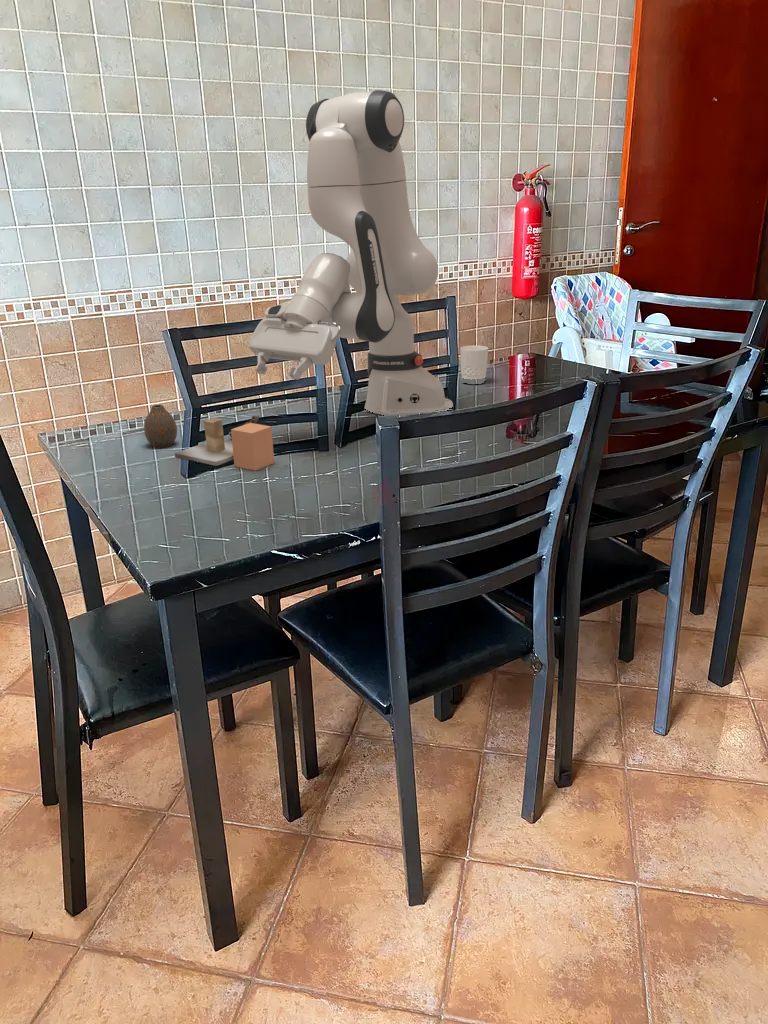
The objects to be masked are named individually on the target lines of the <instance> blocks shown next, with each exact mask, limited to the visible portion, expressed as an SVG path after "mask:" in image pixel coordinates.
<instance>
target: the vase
mask: <svg viewBox="0 0 768 1024" xmlns="http://www.w3.org/2000/svg"><path fill="white" fill-rule="evenodd" d="M143 430H144V431H143V432H144V436H145V439H146V441H147V442H148V443H149V444H150V445H151V446H153V447H154V448H165V447H167V448H168V447H170V446H172V445H173V444H174V442H175V441H176V439H177V435H178V427H177V423H176V421H175V418H174V416H173V415H172V414H171V413H170V412H169V411H168V410H167V409H166V408H165V406H164V405H163V404H154V405H152V406H151V407H150V411H149V412H148V414H147V416H146V417H145V420H144V423H143Z"/></svg>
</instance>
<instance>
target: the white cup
mask: <svg viewBox="0 0 768 1024" xmlns="http://www.w3.org/2000/svg"><path fill="white" fill-rule="evenodd" d="M459 349H460V351H459V352H460V353H459V354H460V373H461V379H462V378H464V379H471V380H472V379H475V380H476V379H482V378H485V377H486V378H487V375H486V374H487V370H488V369H487V368H488V359H489V358H488V356H489V347H488V346H485V345H484V346H483V345H464V346H460V348H459Z"/></svg>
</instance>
